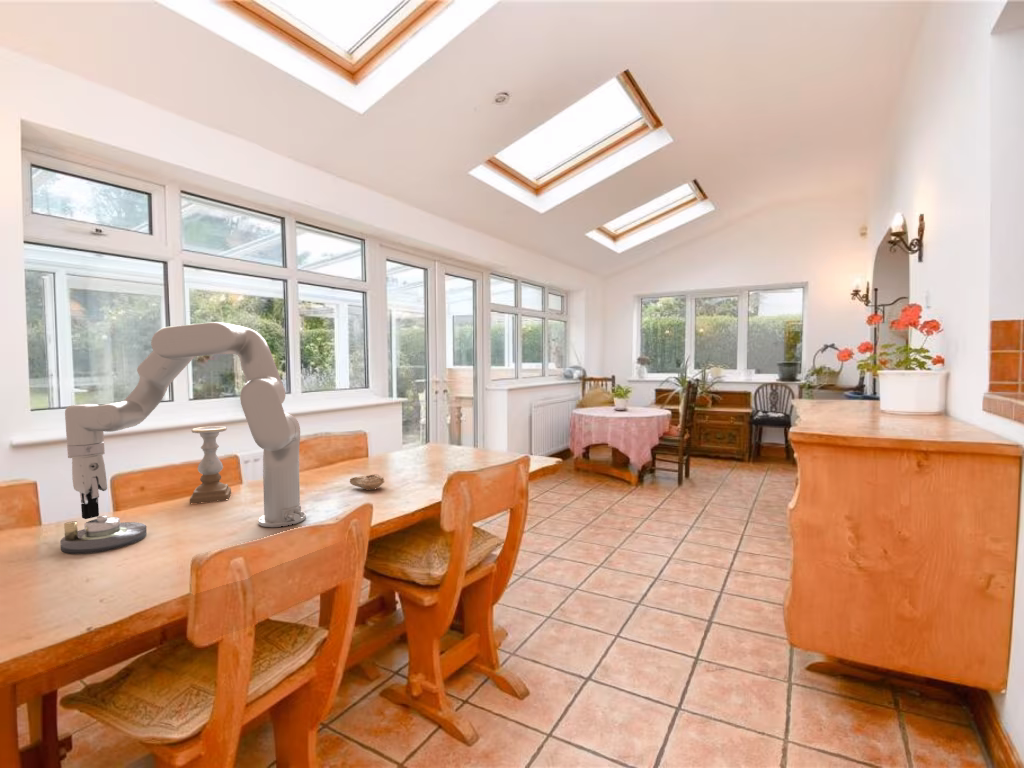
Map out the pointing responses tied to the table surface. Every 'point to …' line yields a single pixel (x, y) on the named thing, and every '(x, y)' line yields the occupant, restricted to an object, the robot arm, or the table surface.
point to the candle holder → (210, 468)
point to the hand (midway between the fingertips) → (90, 517)
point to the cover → (102, 526)
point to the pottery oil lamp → (367, 481)
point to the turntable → (100, 538)
